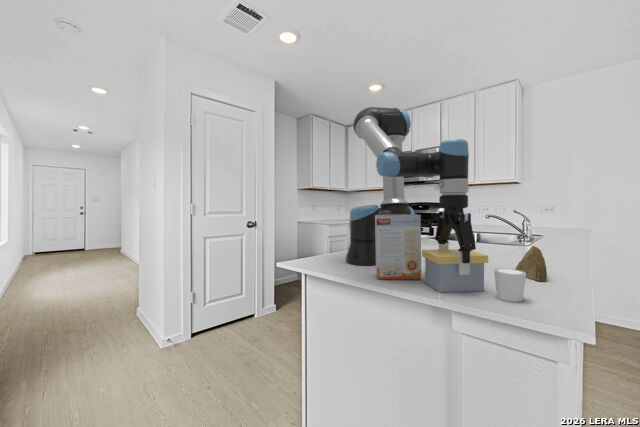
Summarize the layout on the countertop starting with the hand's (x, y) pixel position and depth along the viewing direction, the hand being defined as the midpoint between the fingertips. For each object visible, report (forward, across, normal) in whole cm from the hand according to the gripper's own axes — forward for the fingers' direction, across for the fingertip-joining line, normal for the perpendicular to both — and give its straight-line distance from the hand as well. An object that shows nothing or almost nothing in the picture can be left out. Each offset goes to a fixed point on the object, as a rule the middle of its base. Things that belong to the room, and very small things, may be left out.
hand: (453, 269), depth 84 cm
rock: (+5, -7, +29) cm, 30 cm away
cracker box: (+5, -11, -13) cm, 18 cm away
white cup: (+5, +11, +9) cm, 15 cm away
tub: (+5, 0, 0) cm, 5 cm away
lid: (-3, 0, 0) cm, 3 cm away
